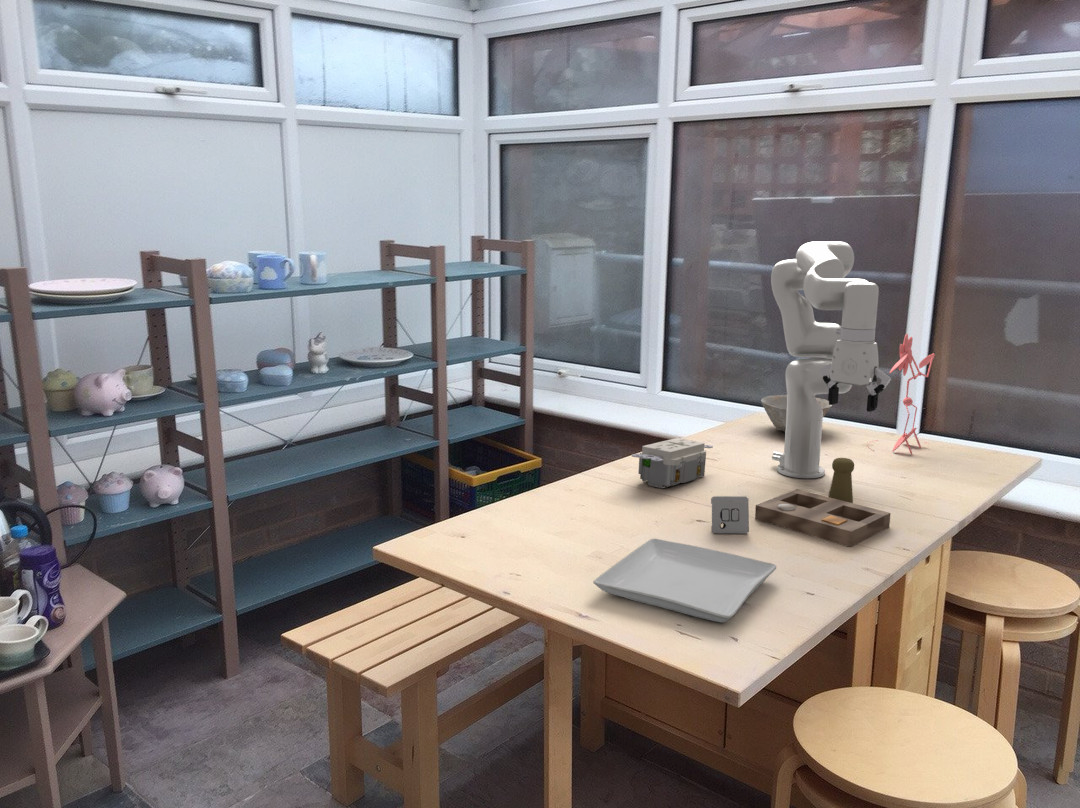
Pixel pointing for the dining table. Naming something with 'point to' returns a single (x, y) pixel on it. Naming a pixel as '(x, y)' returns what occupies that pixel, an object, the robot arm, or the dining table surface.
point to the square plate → (686, 579)
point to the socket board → (823, 517)
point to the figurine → (903, 364)
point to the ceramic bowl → (784, 409)
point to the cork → (842, 480)
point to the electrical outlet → (672, 462)
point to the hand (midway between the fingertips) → (851, 407)
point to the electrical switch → (730, 514)
